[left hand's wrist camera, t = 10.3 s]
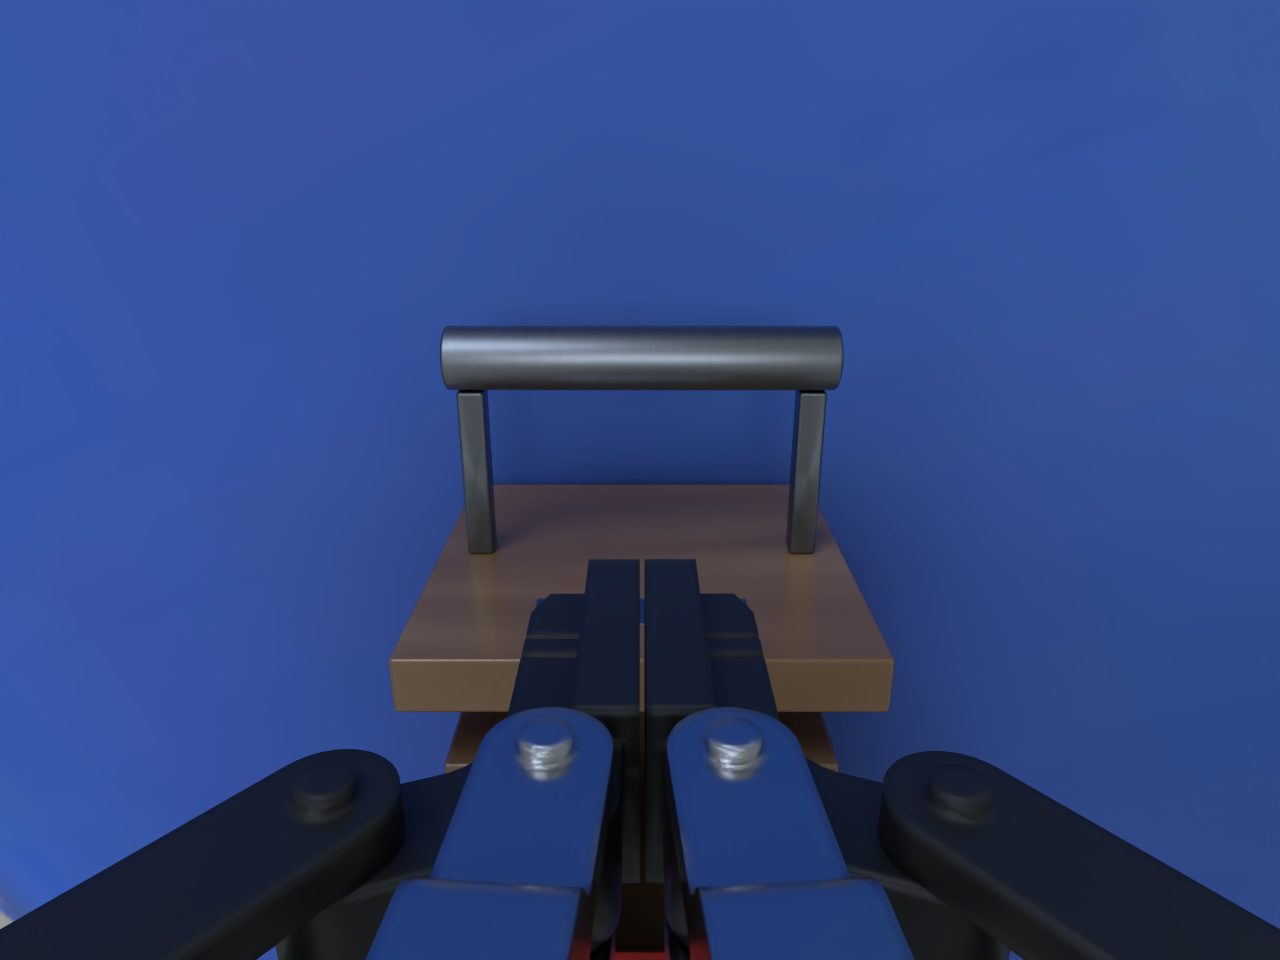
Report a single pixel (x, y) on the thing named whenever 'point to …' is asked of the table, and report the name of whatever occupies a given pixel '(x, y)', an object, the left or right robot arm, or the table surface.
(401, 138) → the table surface
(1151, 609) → the table surface
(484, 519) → the drawer
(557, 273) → the table surface
